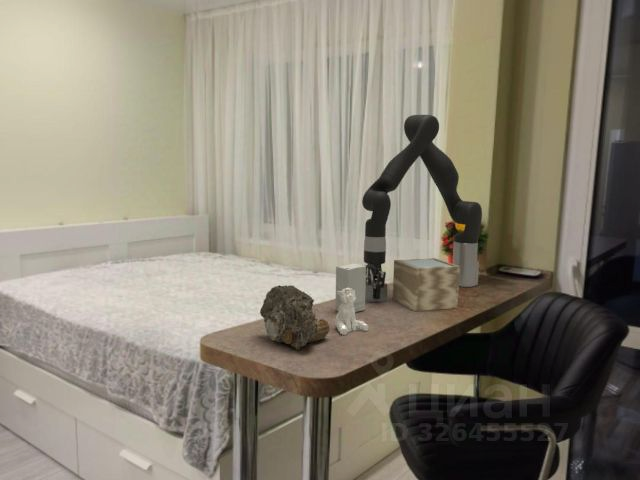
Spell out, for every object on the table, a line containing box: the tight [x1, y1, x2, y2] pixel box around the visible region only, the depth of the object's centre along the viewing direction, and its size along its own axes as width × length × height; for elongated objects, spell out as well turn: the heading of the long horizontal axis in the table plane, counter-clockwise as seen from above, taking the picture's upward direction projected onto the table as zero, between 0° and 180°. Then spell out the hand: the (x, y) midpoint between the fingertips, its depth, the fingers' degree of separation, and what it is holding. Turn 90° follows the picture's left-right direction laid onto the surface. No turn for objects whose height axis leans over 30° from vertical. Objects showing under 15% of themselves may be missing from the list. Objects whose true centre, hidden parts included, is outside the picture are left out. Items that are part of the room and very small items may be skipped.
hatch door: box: [401, 258, 451, 268], centre depth 177 cm, size 13×13×1 cm
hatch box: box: [392, 257, 460, 312], centre depth 178 cm, size 16×16×14 cm
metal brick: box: [365, 282, 388, 303], centre depth 182 cm, size 8×5×6 cm, turn 108°
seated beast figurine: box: [334, 288, 369, 336], centre depth 148 cm, size 10×9×12 cm
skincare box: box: [334, 262, 366, 313], centre depth 167 cm, size 8×6×15 cm
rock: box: [259, 285, 331, 351], centre depth 137 cm, size 18×14×15 cm
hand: (373, 297), depth 183 cm, fingers closed on metal brick, 5 cm apart
